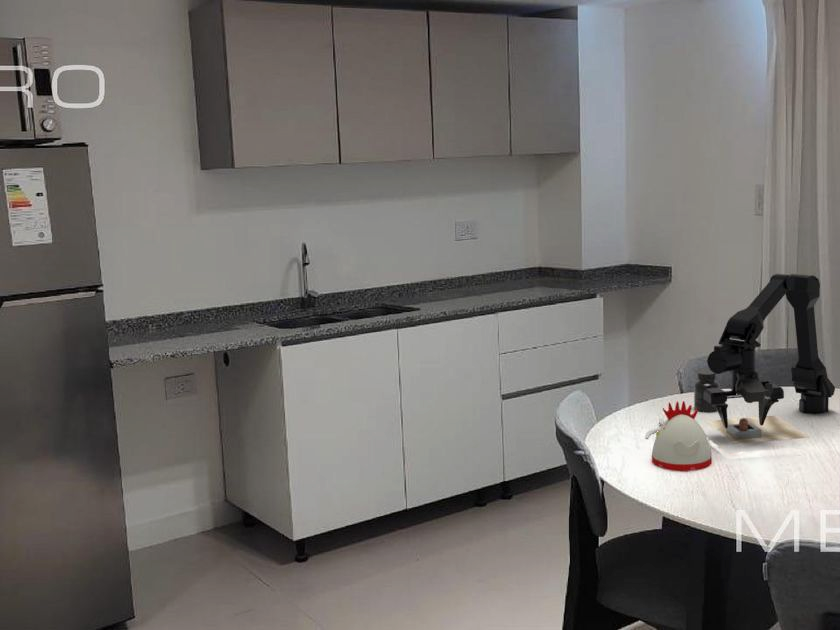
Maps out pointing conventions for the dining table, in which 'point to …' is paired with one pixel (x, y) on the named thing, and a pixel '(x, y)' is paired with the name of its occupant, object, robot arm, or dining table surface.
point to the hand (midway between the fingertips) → (743, 426)
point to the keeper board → (770, 429)
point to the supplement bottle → (700, 386)
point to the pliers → (654, 429)
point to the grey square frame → (744, 432)
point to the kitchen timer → (681, 442)
